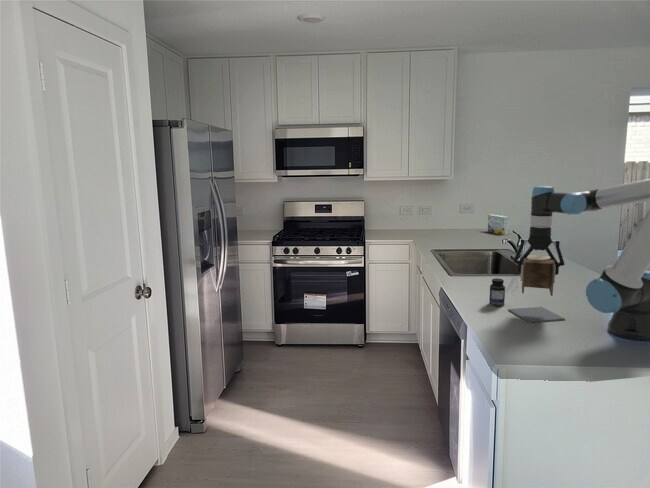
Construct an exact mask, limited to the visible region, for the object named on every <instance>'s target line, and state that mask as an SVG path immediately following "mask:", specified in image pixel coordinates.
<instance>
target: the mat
mask: <svg viewBox="0 0 650 488" xmlns="http://www.w3.org/2000/svg"><path fill="white" fill-rule="evenodd" d="M507 311H509V313H512V314H513V315H515V316H517V317H518V318H520V319H522V320H523V321H525V322H526V323H529V324H532V323H541V322H543V323H544V322H557V321H558V322H559V321H565V320H566V318H565V317H562V316H560V315H559V314H557V313H555V312H553V311H551V310H550V309H547V308H545V307H543V306H532V307H531V306H530V307H519V308H518V307H516V308H508V309H507Z"/></svg>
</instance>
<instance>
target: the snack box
mask: <svg viewBox="0 0 650 488" xmlns="http://www.w3.org/2000/svg"><path fill="white" fill-rule="evenodd" d="M487 232H488V233H492V234H496V235H501V236H509V234H510V233H509V232H510V216H505V215H501V214H500V215H498V214H491V213H490V214H487Z"/></svg>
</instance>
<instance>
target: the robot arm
mask: <svg viewBox="0 0 650 488" xmlns="http://www.w3.org/2000/svg"><path fill="white" fill-rule="evenodd" d="M649 202H650V178H647V179H642V180H638V181H636V180H635V181H631V182H626V183H622V184H617V185H616V184H615V185H613V186H612V185H611V186H607V187H603V188H596V189H592V190H588V191H587V190H586V191H576V192H573V191H572V192H558V191H555V187H554V186H550V185H537V186H533V188H532V193H531V206H530V207H531V211H530V222H529V224H530V228H529V236H528V238H521V239H520V244H519V246H518V248H517V252H516V253H515V256H514V258H513V263H514V264H515V263H516V264H517V272H518V273H520V279H519V280H520V282H522V281H523V261H524V258H527V256H528V255H531V253H532V252H533V250H534V251H545V252H546V253H547V254H548V256H550V258H551V259H552V260H554V261H555V268H554V282H553V284H556V283H555V281H556V276H557V275H558V276H559V273H560V267H561V266H565V260H564V258H563V254H562V252H561V248H560V242H561V241H560V240H559V239H556V240H555V239H552V226H553V225H552V224H553V213H557V214H566V215H569V216H570V215H580V214H582V213H584V212H596V211H597V212H598V211H599V210H603V209H604V210H605V209H609V208H618V207H624V206H629V205H636V204H641V203H643V204H644V203H649ZM527 243H528V244H529V247H528V249H527V250H526V251H525V252H524V254H523V255H522V256H521V257H520V255H521V253H522V251H523V249H524V246H525V245H527ZM551 244H553V246H554V247H555V250H556V253H557V256H558V260H559V261H558V260H557V259H556V258H555V255H554V254H553V252H552V251H551V249H550V246H551ZM519 257H520V259H519ZM649 268H650V208H649V209H648V210H647V212H646V214H644V216H643V219H642V220H641V221H640V223H639V224H638V226H637V227H636V229H635V230H634V232H633V234H632V235H631V236H630V239H629V240H628V241H627V243H626V244H625V246H624V248H623V250H622V251H621V252H620V254H619V256H617V258H616V260H615V262H614V263H613V264H610V265H607V266H606V267H605V268H604V270H603V271H602V272H601V274H600V276H599V277H598V278H594V279H593V280H590V282H588V284H587V285H586V289H585V296H586V297H587V302H588V304H590V306H591V307H592V308H594V309H595V310H596V311H598V312H600V313H602V314H610V313H611V314H612V315H611V317H610V320H609V321H608V322H607V331H608V332H609V333H611V334H613V335H614V336H618V337H621V338H624V339H629V340H634V341H635V340H636V341H644V342H645V341H650V270H648V269H649Z"/></svg>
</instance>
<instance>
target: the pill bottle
mask: <svg viewBox="0 0 650 488" xmlns="http://www.w3.org/2000/svg"><path fill="white" fill-rule="evenodd" d="M491 283H492V284H490V286H489V298H488V299H489V301H488V302H489V304H490V305H491V306H493V307H503V306H504V305H505V298H506V297H505V296H506V286H505V285H504V279H503V278H497V277H496V278H492V279H491Z"/></svg>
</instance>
